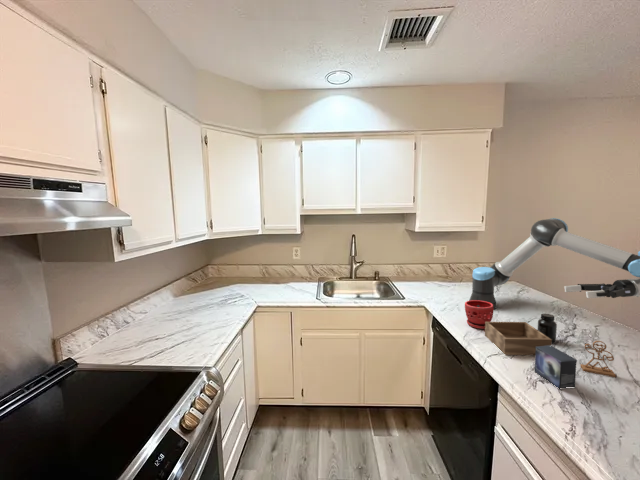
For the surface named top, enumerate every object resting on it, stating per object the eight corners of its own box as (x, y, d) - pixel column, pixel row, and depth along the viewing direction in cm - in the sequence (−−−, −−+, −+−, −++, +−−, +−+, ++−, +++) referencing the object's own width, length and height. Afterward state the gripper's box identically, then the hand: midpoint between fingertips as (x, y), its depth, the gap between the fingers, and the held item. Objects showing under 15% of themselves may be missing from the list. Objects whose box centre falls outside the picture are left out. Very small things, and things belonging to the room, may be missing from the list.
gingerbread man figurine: (611, 372, 105) (614, 341, 104) (616, 377, 102) (618, 346, 100) (580, 366, 110) (582, 336, 108) (583, 371, 106) (585, 340, 105)
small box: (532, 372, 107) (534, 345, 106) (548, 370, 107) (550, 344, 106) (558, 390, 96) (560, 361, 95) (576, 388, 97) (578, 359, 96)
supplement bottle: (559, 344, 127) (561, 318, 125) (542, 343, 128) (543, 317, 127) (550, 337, 133) (551, 312, 132) (533, 336, 135) (535, 312, 133)
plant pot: (491, 322, 152) (491, 300, 151) (494, 332, 140) (495, 309, 139) (463, 319, 158) (464, 298, 156) (464, 328, 146) (465, 306, 144)
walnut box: (484, 335, 137) (485, 321, 137) (524, 336, 135) (525, 321, 135) (504, 354, 120) (505, 339, 119) (550, 355, 118) (551, 339, 117)
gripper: (658, 302, 113) (598, 306, 117) (606, 290, 138) (558, 294, 142) (656, 283, 114) (596, 288, 117) (604, 275, 138) (556, 279, 142)
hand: (575, 291), depth 129 cm, fingers open, 13 cm apart
